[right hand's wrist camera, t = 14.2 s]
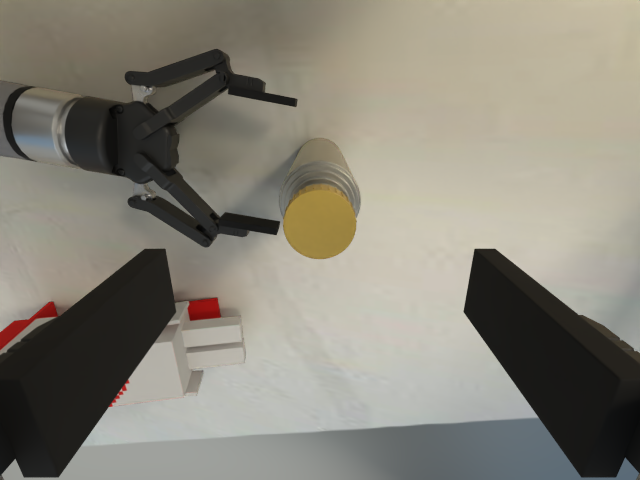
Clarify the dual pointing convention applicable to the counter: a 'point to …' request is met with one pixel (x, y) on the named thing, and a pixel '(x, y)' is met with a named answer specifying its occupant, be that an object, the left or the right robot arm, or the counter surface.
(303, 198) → the cap
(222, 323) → the toy
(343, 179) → the bottle
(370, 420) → the counter surface
